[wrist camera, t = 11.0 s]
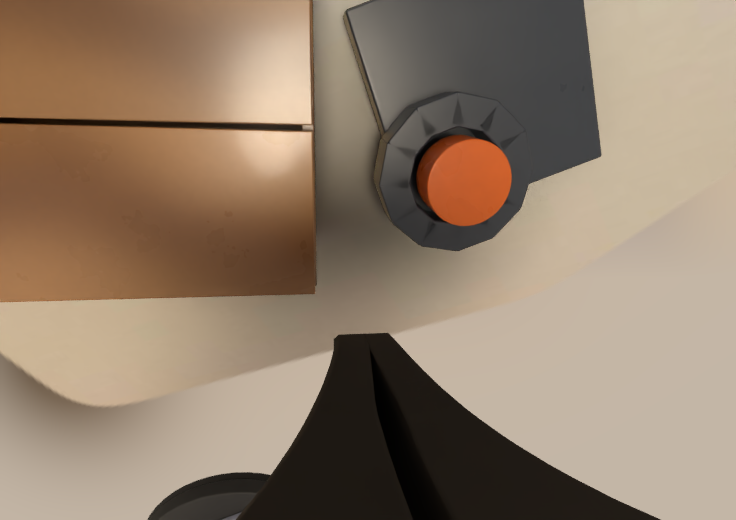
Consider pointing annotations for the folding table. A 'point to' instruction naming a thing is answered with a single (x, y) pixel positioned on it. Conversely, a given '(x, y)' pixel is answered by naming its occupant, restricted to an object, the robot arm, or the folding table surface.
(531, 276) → the folding table surface
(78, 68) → the carton
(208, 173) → the flap
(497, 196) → the button
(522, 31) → the control box
